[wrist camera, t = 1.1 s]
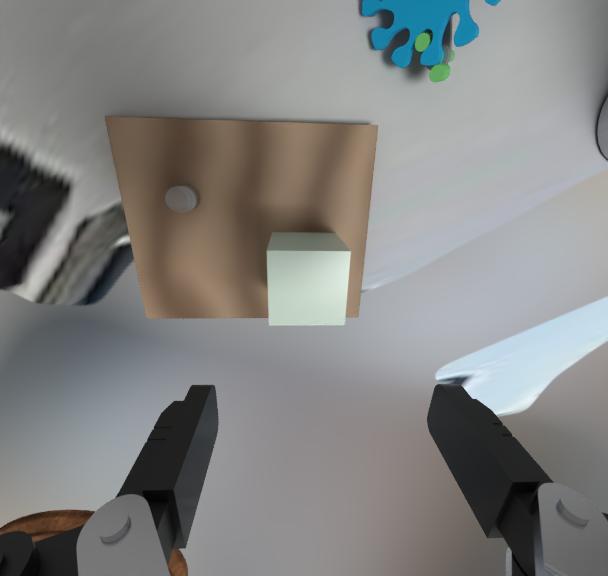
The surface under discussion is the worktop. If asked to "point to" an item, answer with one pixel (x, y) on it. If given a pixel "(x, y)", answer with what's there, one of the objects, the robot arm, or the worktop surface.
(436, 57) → the gear
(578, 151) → the worktop surface
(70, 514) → the cutting board
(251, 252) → the board
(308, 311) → the pale green block
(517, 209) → the worktop surface
